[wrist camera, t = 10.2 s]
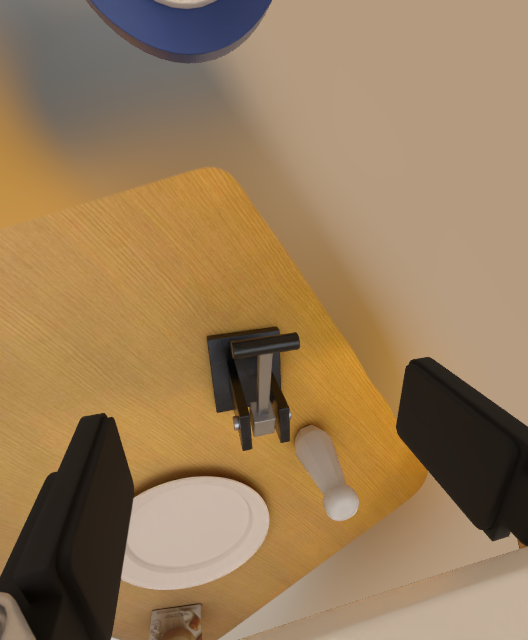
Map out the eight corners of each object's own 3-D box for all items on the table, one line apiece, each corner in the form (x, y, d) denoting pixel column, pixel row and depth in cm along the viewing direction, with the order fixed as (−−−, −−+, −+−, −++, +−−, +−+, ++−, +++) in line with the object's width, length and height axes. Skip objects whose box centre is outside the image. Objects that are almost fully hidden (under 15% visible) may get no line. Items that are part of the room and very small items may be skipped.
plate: (296, 492, 54) (299, 503, 53) (212, 586, 59) (213, 598, 58) (160, 444, 44) (159, 455, 42) (73, 562, 49) (68, 576, 47)
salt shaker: (326, 417, 49) (371, 490, 38) (324, 445, 52) (365, 522, 40) (290, 424, 48) (324, 501, 37) (290, 452, 50) (321, 533, 39)
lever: (229, 333, 26) (234, 355, 24) (293, 324, 27) (302, 345, 25) (234, 420, 35) (238, 440, 33) (283, 410, 36) (289, 430, 34)
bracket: (206, 336, 39) (215, 392, 29) (277, 326, 41) (309, 376, 31) (216, 407, 44) (226, 479, 33) (279, 395, 46) (307, 460, 35)
